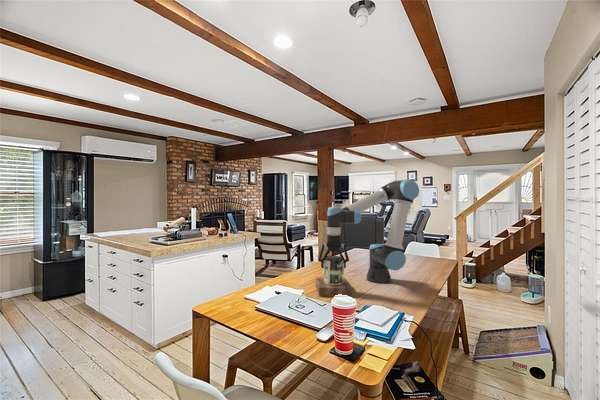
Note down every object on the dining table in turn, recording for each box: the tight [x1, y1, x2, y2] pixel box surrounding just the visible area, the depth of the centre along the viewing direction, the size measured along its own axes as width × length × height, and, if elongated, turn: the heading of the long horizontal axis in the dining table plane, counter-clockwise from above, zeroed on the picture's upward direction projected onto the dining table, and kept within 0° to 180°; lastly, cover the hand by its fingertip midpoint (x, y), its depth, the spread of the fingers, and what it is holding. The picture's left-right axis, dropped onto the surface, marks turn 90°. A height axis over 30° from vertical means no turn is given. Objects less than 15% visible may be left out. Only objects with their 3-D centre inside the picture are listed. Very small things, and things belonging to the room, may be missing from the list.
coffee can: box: [323, 255, 343, 285], centre depth 158 cm, size 10×10×14 cm
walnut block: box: [314, 277, 353, 297], centre depth 158 cm, size 18×18×4 cm
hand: (333, 273), depth 158 cm, fingers closed on coffee can, 10 cm apart
